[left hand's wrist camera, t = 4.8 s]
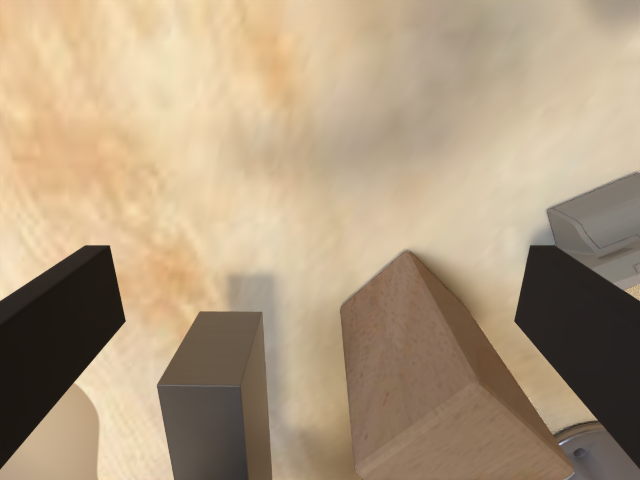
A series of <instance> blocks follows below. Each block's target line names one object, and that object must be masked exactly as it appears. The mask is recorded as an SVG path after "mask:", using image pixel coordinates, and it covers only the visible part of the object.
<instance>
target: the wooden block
mask: <svg viewBox="0 0 640 480" xmlns="http://www.w3.org/2000/svg"><path fill="white" fill-rule="evenodd" d="M340 314H341V325H342V336H343V347H344V358H345V368H346V379H347V390H348V401H349V412H350V423H351V434H352V444H353V455H354V466H355V470H356V473H357V474H358V476H359V477H360V478H362V479H363V480H563V479H565V478H567V477H569V476H570V475H571V474H572V473H573V472H574V470H573V466H572V463H571V461H570V460H569V458H568V457H567V455H566V454H565V452H564V451H563V449H562V448H561V447H560V445H559V444H558V442H557V441H556V439H555V438H554V436H553V435H552V433H551V432H550V430H549V429H548V427H547V426H546V424H545V423H544V421H543V420H542V418H541V417H540V416H539V414H538V413H537V411H536V410H535V408H534V407H533V405H532V404H531V402H530V401H529V399H528V398H527V396H526V395H525V393H524V392H523V390H522V389H521V387H520V386H519V385H518V383H517V382H516V380H515V379H514V377H513V376H512V374H511V373H510V371H509V370H508V368H507V367H506V365H505V364H504V362H503V361H502V359H501V358H500V356H499V355H498V354H497V352H496V351H495V349H494V348H493V346H492V345H491V343H490V342H489V340H488V339H487V337H486V336H485V334H484V333H483V331H482V330H481V328H480V327H479V326H478V324H477V323H476V321H475V320H474V318H473V317H472V315H471V314H470V312H469V311H468V309H467V308H466V306H465V305H464V304H463V303H462V302H461V301H460V300H459V299H458V298H457V297H456V296H455V295H454V294H453V293H452V292H451V291H450V290H448V289H447V288H446V287H445V286H444V285H443V284H442V283H441V282H440V281H439V280H438V279H437V278H436V277H435V276H434V275H433V274H432V273H431V272H430V271H429V270H428V269H427V268H426V267H425V266H424V265H423V264H422V263H421V262H420V261H419V260H418V259H417V258H416V257H415V256H414V255H413V254H412V253H411V252H408V251H406V252H404V253H403V254H402V255H400V256H399V257H398V258H397V259H396V260H395V261H394V262H392V263H391V264H390V265H389V266H388V267H387V268H386V269H384V270H383V271H382V272H381V273H380V274H379V275H378V276H376V277H375V278H374V279H373V280H372V281H371V282H370V283H368V284H367V285H366V286H365V287H364V288H363V289H362V290H360V291H359V292H358V293H357V294H356V295H355V296H353V297H352V298H351V299H350V300H349V301H348V302H347V303H345V304H344V305H343V306H342V307H341V309H340Z"/></svg>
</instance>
